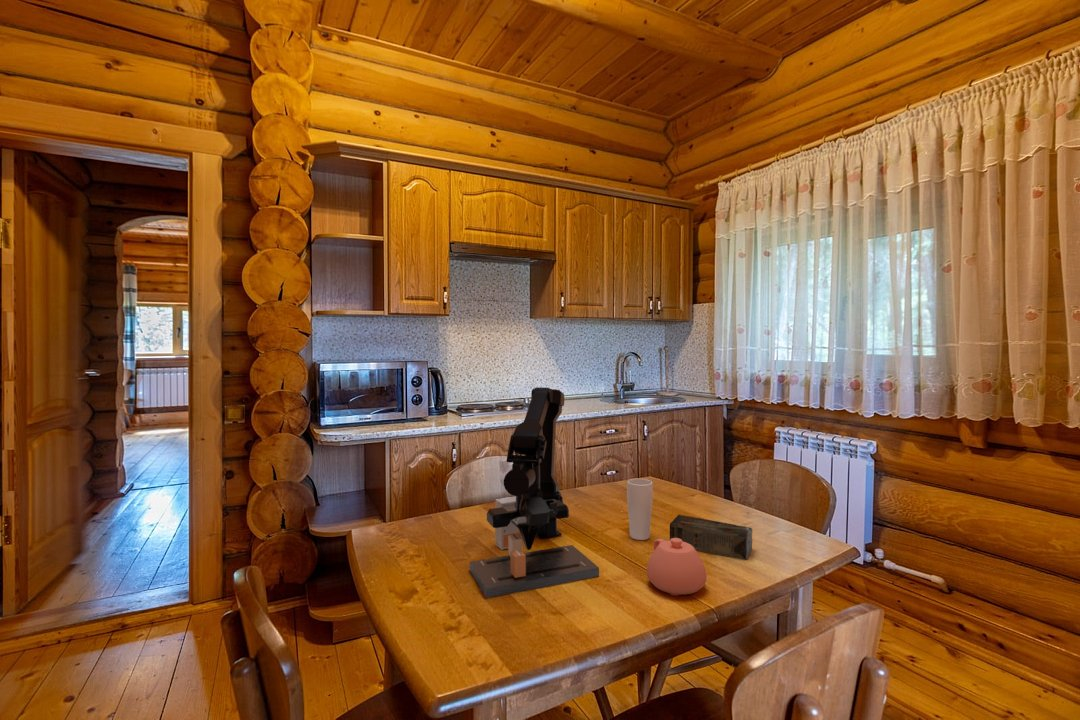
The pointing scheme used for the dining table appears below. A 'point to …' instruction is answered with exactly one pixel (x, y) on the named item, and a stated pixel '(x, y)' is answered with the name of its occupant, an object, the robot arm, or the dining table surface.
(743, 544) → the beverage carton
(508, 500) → the skincare box
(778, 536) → the dining table surface
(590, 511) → the dining table surface
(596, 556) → the dining table surface
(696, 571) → the pink teapot
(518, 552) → the orange fader
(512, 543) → the white fader
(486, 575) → the console
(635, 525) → the drinking glass
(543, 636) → the dining table surface
